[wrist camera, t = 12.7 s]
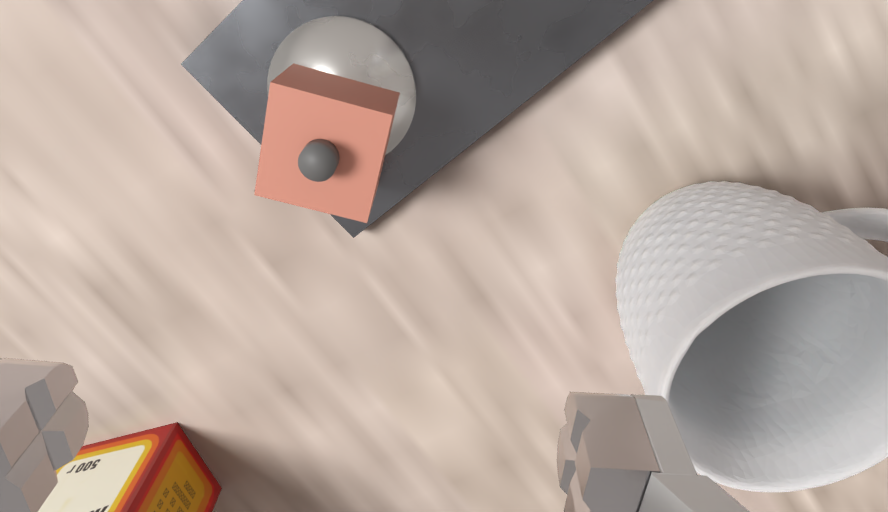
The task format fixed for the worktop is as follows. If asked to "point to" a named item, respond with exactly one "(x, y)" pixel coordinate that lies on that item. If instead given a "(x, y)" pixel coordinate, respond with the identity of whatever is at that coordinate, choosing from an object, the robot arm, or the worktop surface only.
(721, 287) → the mug
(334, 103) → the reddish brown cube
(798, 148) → the worktop surface
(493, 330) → the worktop surface
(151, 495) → the baking soda box
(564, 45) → the base
